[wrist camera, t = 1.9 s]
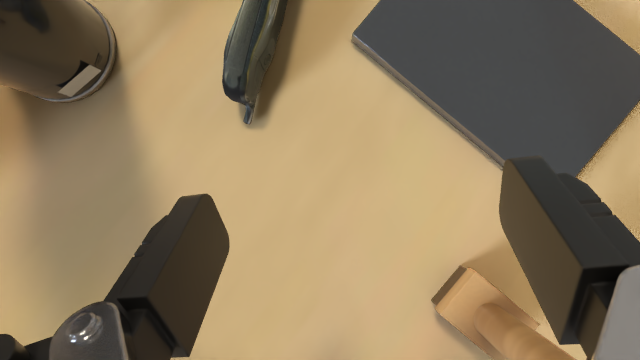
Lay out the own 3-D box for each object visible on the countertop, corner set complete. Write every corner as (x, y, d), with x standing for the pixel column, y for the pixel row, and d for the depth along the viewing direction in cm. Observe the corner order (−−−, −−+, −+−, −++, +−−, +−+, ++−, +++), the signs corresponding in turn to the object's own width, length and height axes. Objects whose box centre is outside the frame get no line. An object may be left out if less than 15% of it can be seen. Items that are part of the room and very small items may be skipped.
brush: (427, 300, 32) (497, 379, 19) (459, 261, 32) (551, 314, 19) (484, 348, 32) (593, 460, 19) (516, 309, 32) (647, 395, 19)
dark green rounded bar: (256, -85, 28) (207, 105, 27) (295, -76, 28) (246, 114, 27) (266, -43, 33) (225, 118, 32) (299, -35, 33) (258, 127, 32)
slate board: (350, 40, 32) (352, 33, 31) (452, -81, 32) (458, -94, 31) (543, 200, 32) (554, 201, 31) (647, 78, 32) (662, 72, 31)
